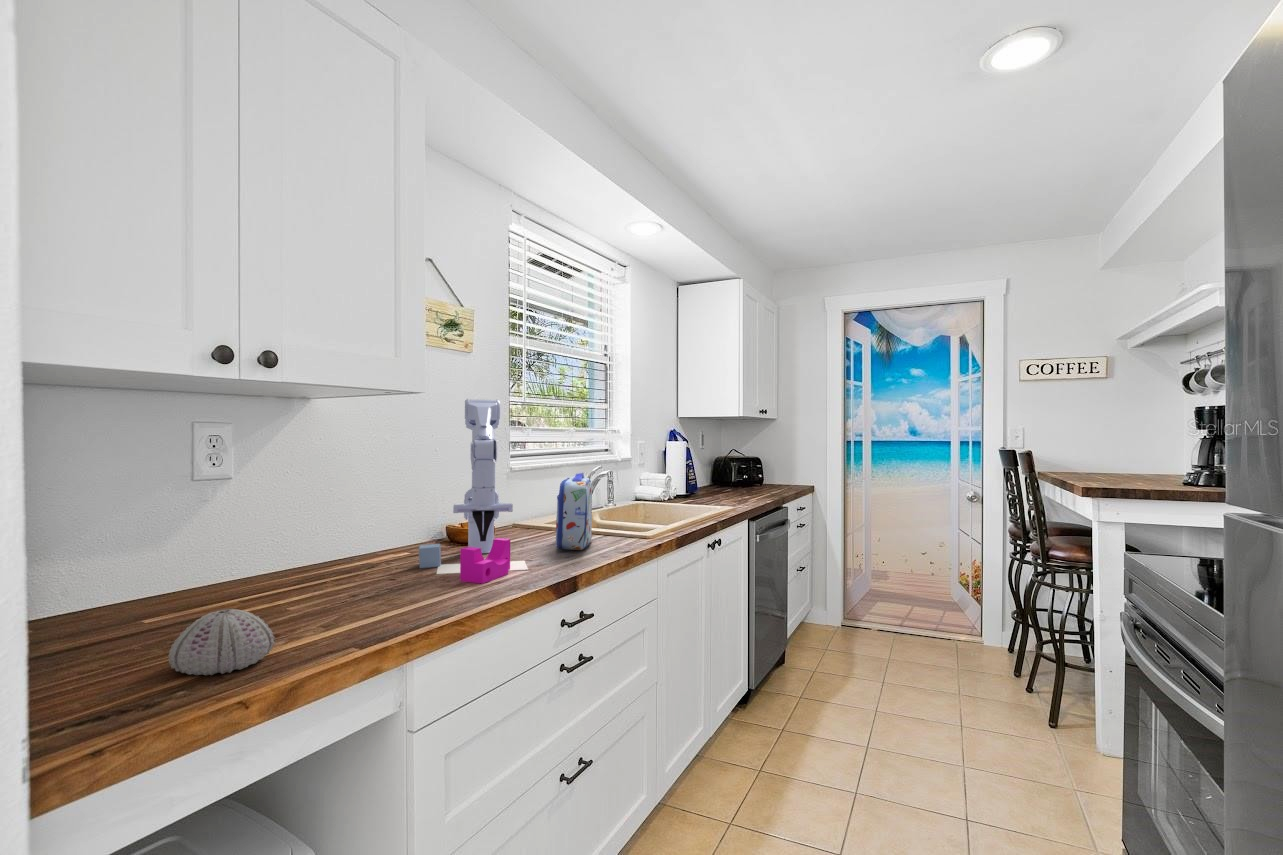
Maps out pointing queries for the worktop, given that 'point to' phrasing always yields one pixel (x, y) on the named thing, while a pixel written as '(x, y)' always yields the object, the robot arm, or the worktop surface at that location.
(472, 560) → the toy block
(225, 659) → the sea urchin shell
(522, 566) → the letter board
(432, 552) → the blue cube
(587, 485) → the lunch box
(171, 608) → the worktop surface
